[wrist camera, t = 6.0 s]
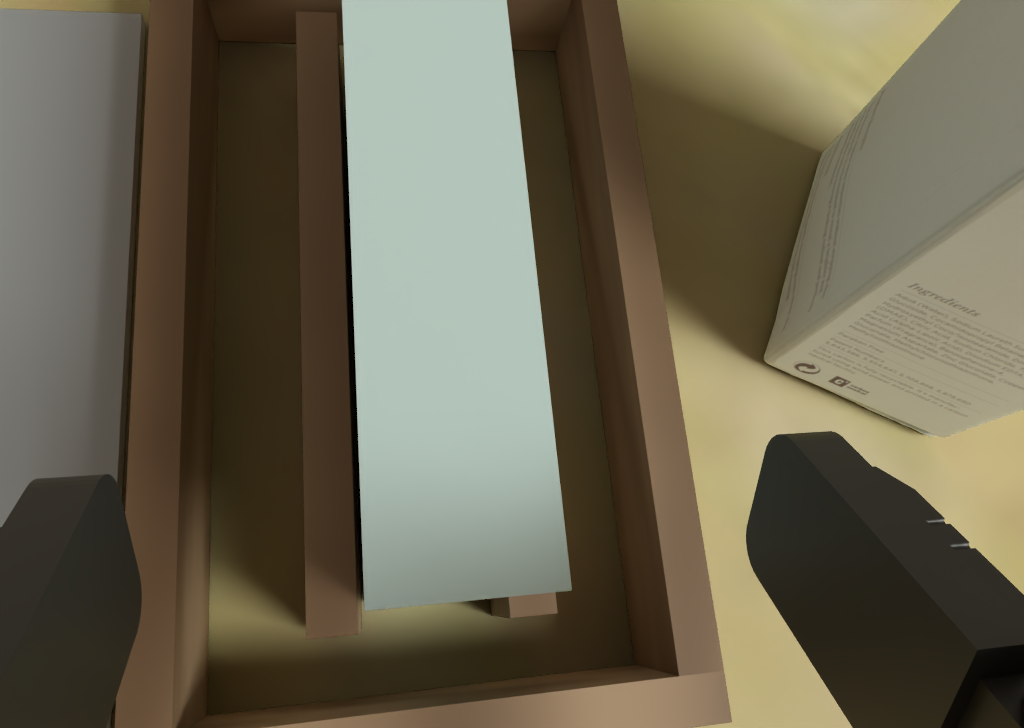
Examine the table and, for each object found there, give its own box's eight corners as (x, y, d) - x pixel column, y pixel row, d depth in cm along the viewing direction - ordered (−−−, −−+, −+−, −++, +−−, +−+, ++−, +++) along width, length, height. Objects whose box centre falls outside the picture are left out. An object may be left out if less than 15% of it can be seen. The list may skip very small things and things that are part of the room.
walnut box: (157, 771, 17) (110, 807, 14) (183, 10, 22) (154, -76, 19) (679, 703, 19) (731, 722, 16) (582, 25, 24) (608, -51, 21)
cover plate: (373, 605, 18) (364, 610, 9) (353, 104, 22) (332, -260, 13) (477, 595, 19) (572, 590, 9) (439, 106, 23) (479, -245, 13)
